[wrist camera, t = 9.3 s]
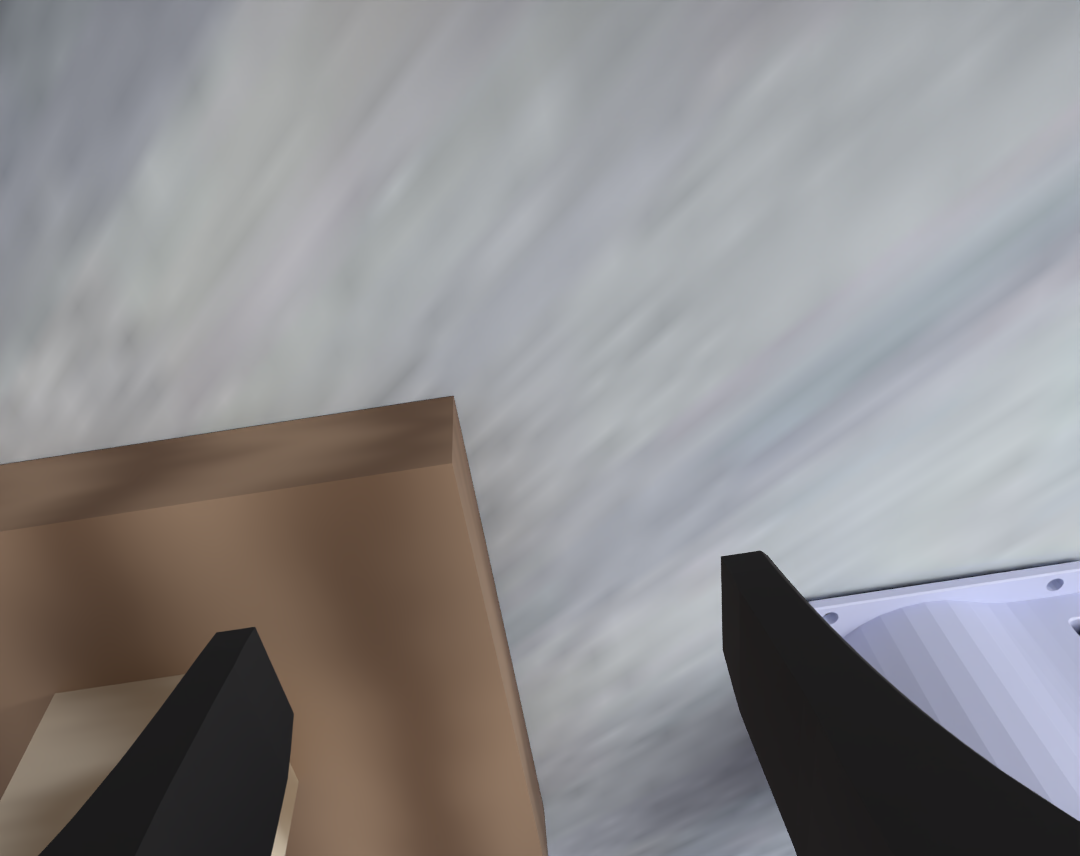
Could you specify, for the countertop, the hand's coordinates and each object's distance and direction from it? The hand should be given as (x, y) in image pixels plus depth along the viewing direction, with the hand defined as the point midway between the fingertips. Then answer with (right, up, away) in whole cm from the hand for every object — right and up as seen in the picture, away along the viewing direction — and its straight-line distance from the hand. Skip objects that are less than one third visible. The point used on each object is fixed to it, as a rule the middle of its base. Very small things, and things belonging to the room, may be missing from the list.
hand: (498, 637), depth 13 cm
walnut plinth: (-9, -5, +13) cm, 17 cm away
